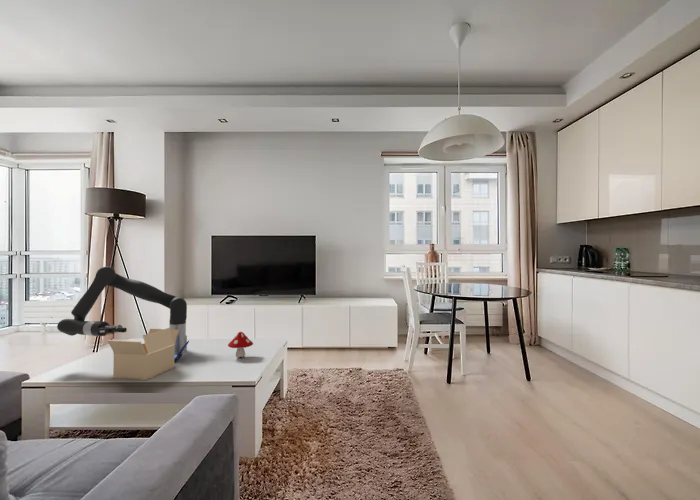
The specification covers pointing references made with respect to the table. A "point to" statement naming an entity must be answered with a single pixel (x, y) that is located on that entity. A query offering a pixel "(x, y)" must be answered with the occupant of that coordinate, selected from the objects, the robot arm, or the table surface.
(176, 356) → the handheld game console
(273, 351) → the table surface
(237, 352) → the decorative mushroom
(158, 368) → the carton
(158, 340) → the near flap
